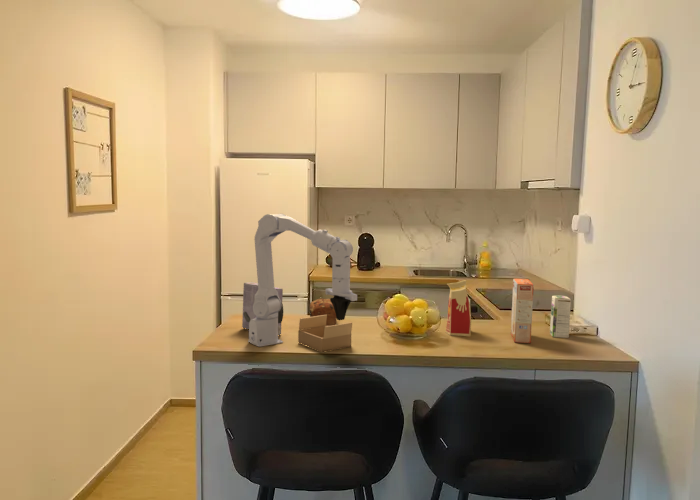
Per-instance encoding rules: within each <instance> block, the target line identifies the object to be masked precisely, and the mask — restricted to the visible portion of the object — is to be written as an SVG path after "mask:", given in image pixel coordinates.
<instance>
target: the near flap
mask: <svg viewBox="0 0 700 500" xmlns="http://www.w3.org/2000/svg"><path fill="white" fill-rule="evenodd" d="M352 330H353V322H352V321H351V322H345V323H340V324H336V325H332V326H326V327H324V337H323V339H327V338H332V337H338V336H343V335H349V334H351V335H352Z"/></svg>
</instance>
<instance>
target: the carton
mask: <svg viewBox="0 0 700 500" xmlns="http://www.w3.org/2000/svg"><path fill="white" fill-rule="evenodd" d="M324 327H326V326H321V327H315V328H309V329H302V330H299V329H298V331H297V334H298V336H297V337H298V338H297V339H298V340H297V341H298V342H299V343H302V344H304V345H307V346H309V347H311V348H310V349H312V348H313V350H314V349H316V350H315V351H317V350H318V351H317V352H319V351H320V353H326V352H325V351H327V352H331V351H330V350H332V351H336V350H335V349H337V350H341V349H340V348H342V349H346V347H347V348H351V347H352V333H351V334H349V335H343V336H338V337H332V338H327V339H323V337H324ZM299 343H298V344H299ZM302 344H301V345H302ZM304 345H303V346H304ZM307 346H306V347H307ZM309 347H308V348H309Z"/></svg>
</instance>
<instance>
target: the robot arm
mask: <svg viewBox="0 0 700 500" xmlns="http://www.w3.org/2000/svg"><path fill="white" fill-rule="evenodd" d="M257 222H258V226H257V228H256V232H255V234H254V250H255V262H256V263H255V264H256V275H257V277H256V278H257V283H258V291H257V293H256V294H255V296H254V299H255V300H254V304H253V312H254V314H255V315H256V318H255V319H251V320H250V322H249V330H248V341H247V342H248V343H249V342H250V344H251V345H254V346H256V347H259V348H260V347H266V346H270V345H278V344H282V343H284V341H283V340H282V339H279V336H278V312H279V311H280V309H281V306H282V304H283V303H282V304H281V300H280V299H279V296H278V291H277V290H276V289H275V288H274V287H275V279H274V264H273V262H274V261H273V251H272V242H273V241H274V239H276V238H277V237H278V235H281V234H283V233H284V232H287V231H290V232H293V233H295V234H296V235H299V236H302V237H303V238H305V239H308V240H310V242H311V245H312V246H314V247H316V248H318V249H320V250H322V251H323V252H325V253H327V254H329V255H330V256H331V258H332V268H331V269H332V271H331V272H332V274H331V275H332V276H331V279H332V280H331V288H330V287H329V288H325V295H326V296H328V295H329V296H332V297H331V298H329V299H330V301H331V302H332V304H333V307H334V310H335V313H336V318H337V320H336V321H345V319H346V314H347V311H348V308H349V306H350V305H351V302H355V301H356V302H357V301H358V294H356V293H354V292H353V290H351V289H350V288H351V255H352V254H353V251H354V247H353V245H352V243H351V242H350V241H349V240H348V239H341V237H340V236H337V235H336V236H334V235H332V234H331V233H330V232H328V230H327V229H318V230H315V229H313V228H311V227H309V226H308V225H306V224H304V223H302V222H300V221H298V220H297V219H295V218H293V217H292V216H289V215H286V214H284V213H273V214H272V213H267V214H264V215H263V216H262V217H261V218H260V219H259V220H258V221H257Z"/></svg>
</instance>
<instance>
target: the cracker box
mask: <svg viewBox="0 0 700 500" xmlns="http://www.w3.org/2000/svg"><path fill="white" fill-rule="evenodd" d="M534 286H535V284H533V282H532V281H531V280H530V279H527V278H513V281H512V300H511V301H512V302H511V304H512V305H511V321H510V322H511V323H510V335H511V338H512V340H513V342H514V343H517V344H518V343H519V344H531V342H532V341H531V340H532V321H533V306H534V305H533V304H534V303H533V302H534V291H535V290H534Z"/></svg>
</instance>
